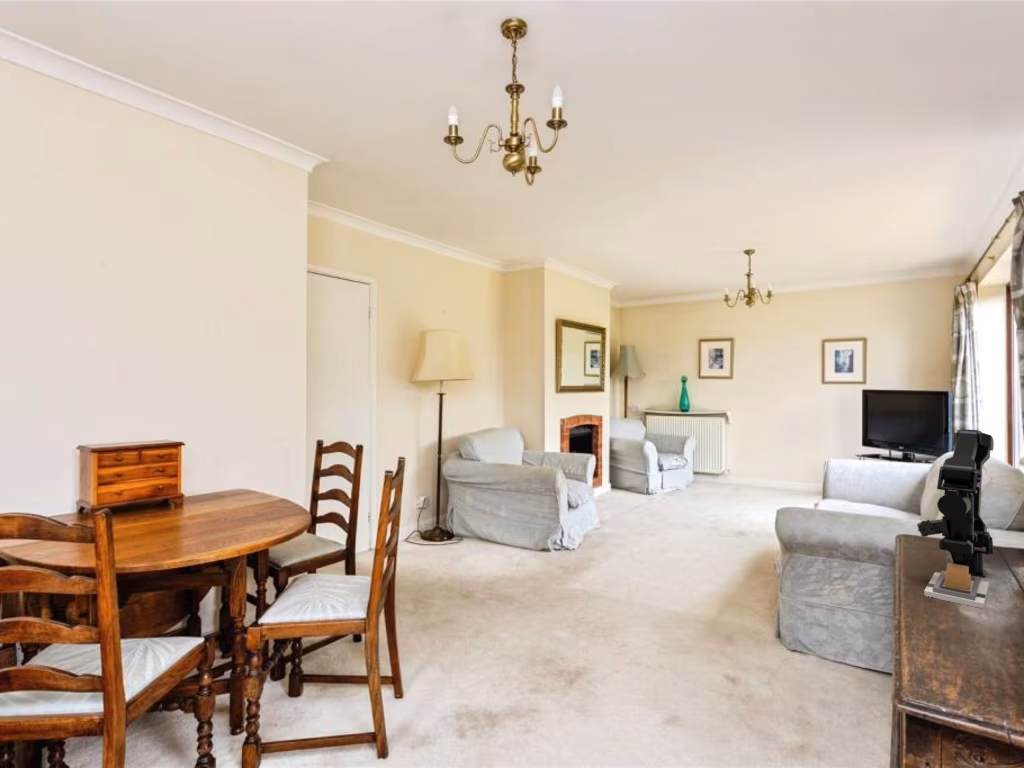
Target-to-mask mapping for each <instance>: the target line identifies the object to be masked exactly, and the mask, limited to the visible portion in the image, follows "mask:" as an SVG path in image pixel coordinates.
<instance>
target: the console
mask: <svg viewBox="0 0 1024 768" xmlns="http://www.w3.org/2000/svg"><path fill="white" fill-rule="evenodd" d="M945 571H946V570H942V571H941V572H934V574H933V575H932V577H931V579H930V580H929V582H928V583H927V585H926V587H925V589H924V590H923V594H924V595H925V596H924V595H923V596H924V597H928V596H929V598H932V597H933V598H934V599H937V600H941V601H947V602H952V603H956V604H960V605H964V606H965V605H966V606H970V607H973V608H974V607H975V608H979V609H985V606H986V601H987V597H988V593H989V588H990V582H989V581H983V580H981V577H980V576H975V575H971V587H970V590H967V589H962V588H957V587H952V586H947V585H945Z"/></svg>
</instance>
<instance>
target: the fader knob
mask: <svg viewBox="0 0 1024 768" xmlns="http://www.w3.org/2000/svg"><path fill="white" fill-rule="evenodd" d="M944 571H945V585H947V586H952V587H957V588H962V589H967V590H970V587H971V576H972V575H971V574H969V566H965V565H959V564H954V563H953V562H947V564H946V569H945V570H944Z"/></svg>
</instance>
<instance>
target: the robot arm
mask: <svg viewBox="0 0 1024 768" xmlns="http://www.w3.org/2000/svg"><path fill="white" fill-rule="evenodd" d="M952 436H953V439H952V446H953V448H954V450H953V454H952V456H950V457H948V458H946V459H945V460H944V462H943V464H942V465H941V466H940V467H939V473H938V479H937V484H936V485H937V486H936V489H937V490H941V491H944V492H943V495H942V496H941V497H939V499H938V501H937V509H938V511H939V512H940V513H941V514H942V515H943V516H942V518H940V519H934V520H933V519H932V520H930V519H926V520H922V521H920V522H918V523H917V525H916V526H917V528H918V529H917V530H918V532H919V533H920V536H921V537H928V536H933V535H939V534H941V536H942V538H940V539H939V548H938V550H941V551H946V552H947V551H948V552H949V553H950V556H951V560H952V563H954V564H959V565H965V566H969V574H971V576H975V577H980V578H981V577H983V578H985V577H986V574H987V570H986V569H984V568H985V567H984V564H985V563H984V561H985V560H984V559H985V558H984V557H985V556H984V554H985V555H993V554H994V541H993V539H994V538H993V537H992V536H991V534H990V532H988V527H987V525H986V524H985V522H984V520H983V519H982V518H981V503H982V502H981V501H982V499H981V498H982V484H983V483H982V480H983V465H985V463H986V462H988V460H990V458H991V452H993V451H994V446H995V445H994V438H993V436H992V435H991V434H987V433H984V432H983V431H982V430H979V429H965V428H961V429H957V431H956V432H954V433H953V435H952Z"/></svg>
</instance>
